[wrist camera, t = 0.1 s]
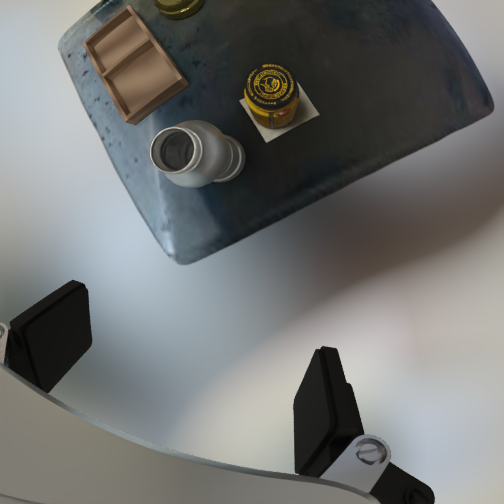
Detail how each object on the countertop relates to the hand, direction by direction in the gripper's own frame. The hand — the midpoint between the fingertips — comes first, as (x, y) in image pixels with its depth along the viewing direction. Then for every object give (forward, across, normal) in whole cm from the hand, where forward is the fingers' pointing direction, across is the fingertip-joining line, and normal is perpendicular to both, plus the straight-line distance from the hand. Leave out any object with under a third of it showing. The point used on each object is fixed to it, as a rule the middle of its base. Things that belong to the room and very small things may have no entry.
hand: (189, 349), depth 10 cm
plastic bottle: (+31, +6, -7) cm, 33 cm away
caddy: (+31, +24, -21) cm, 45 cm away
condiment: (+32, 0, -16) cm, 35 cm away
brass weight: (+31, +19, -33) cm, 49 cm away
